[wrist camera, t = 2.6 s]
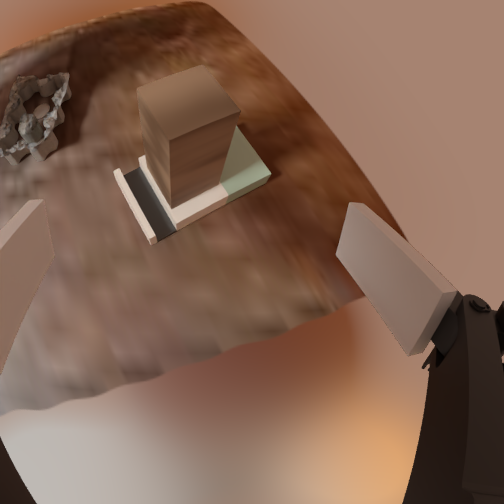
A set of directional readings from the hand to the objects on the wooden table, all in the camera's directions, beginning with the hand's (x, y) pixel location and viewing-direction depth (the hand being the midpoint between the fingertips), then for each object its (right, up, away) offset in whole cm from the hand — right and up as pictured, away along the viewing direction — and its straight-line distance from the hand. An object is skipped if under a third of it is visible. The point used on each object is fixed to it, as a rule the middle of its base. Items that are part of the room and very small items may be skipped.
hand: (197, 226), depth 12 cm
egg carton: (-21, +13, +14) cm, 28 cm away
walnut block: (-4, +5, +13) cm, 15 cm away
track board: (-3, +5, +15) cm, 16 cm away
